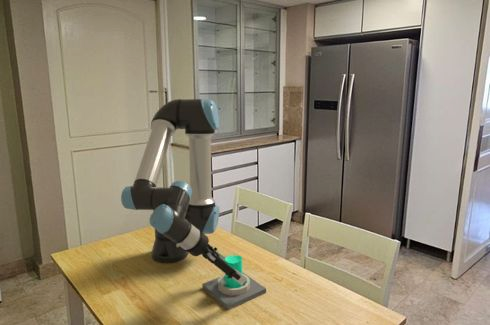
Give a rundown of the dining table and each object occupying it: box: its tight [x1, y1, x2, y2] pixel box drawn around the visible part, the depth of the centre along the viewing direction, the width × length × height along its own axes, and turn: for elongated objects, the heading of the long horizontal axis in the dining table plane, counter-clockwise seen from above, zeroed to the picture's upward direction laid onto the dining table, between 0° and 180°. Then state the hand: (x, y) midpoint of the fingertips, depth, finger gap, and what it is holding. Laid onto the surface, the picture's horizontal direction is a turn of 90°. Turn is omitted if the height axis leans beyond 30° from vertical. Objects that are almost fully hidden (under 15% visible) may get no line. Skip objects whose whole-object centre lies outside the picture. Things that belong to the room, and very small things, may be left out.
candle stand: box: [201, 271, 267, 310], centre depth 123 cm, size 16×16×4 cm
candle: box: [224, 253, 243, 288], centre depth 122 cm, size 6×6×12 cm
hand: (235, 272), depth 122 cm, fingers open, 13 cm apart
